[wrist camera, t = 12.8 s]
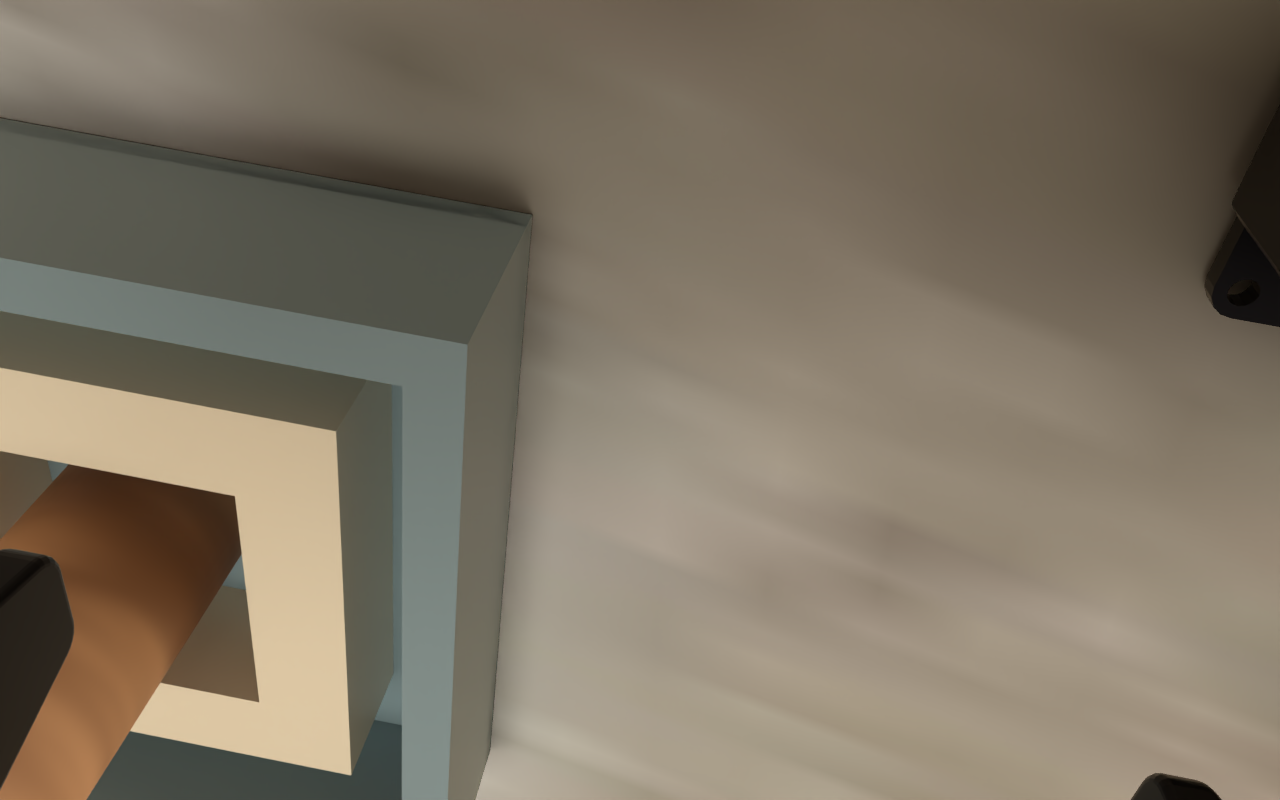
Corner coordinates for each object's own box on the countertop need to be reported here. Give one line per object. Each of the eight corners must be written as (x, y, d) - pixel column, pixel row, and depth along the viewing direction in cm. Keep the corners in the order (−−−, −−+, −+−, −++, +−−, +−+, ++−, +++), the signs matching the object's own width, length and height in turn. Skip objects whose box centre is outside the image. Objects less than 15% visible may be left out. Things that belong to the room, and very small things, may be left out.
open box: (532, 214, 20) (467, 345, 16) (490, 750, 29) (443, 908, 26) (-249, 72, 20) (-483, 167, 17) (-46, 642, 30) (-166, 784, 26)
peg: (257, 431, 23) (-4, 798, 16) (270, 564, 25) (48, 937, 18) (76, 396, 23) (-265, 744, 16) (105, 532, 26) (-180, 889, 18)
